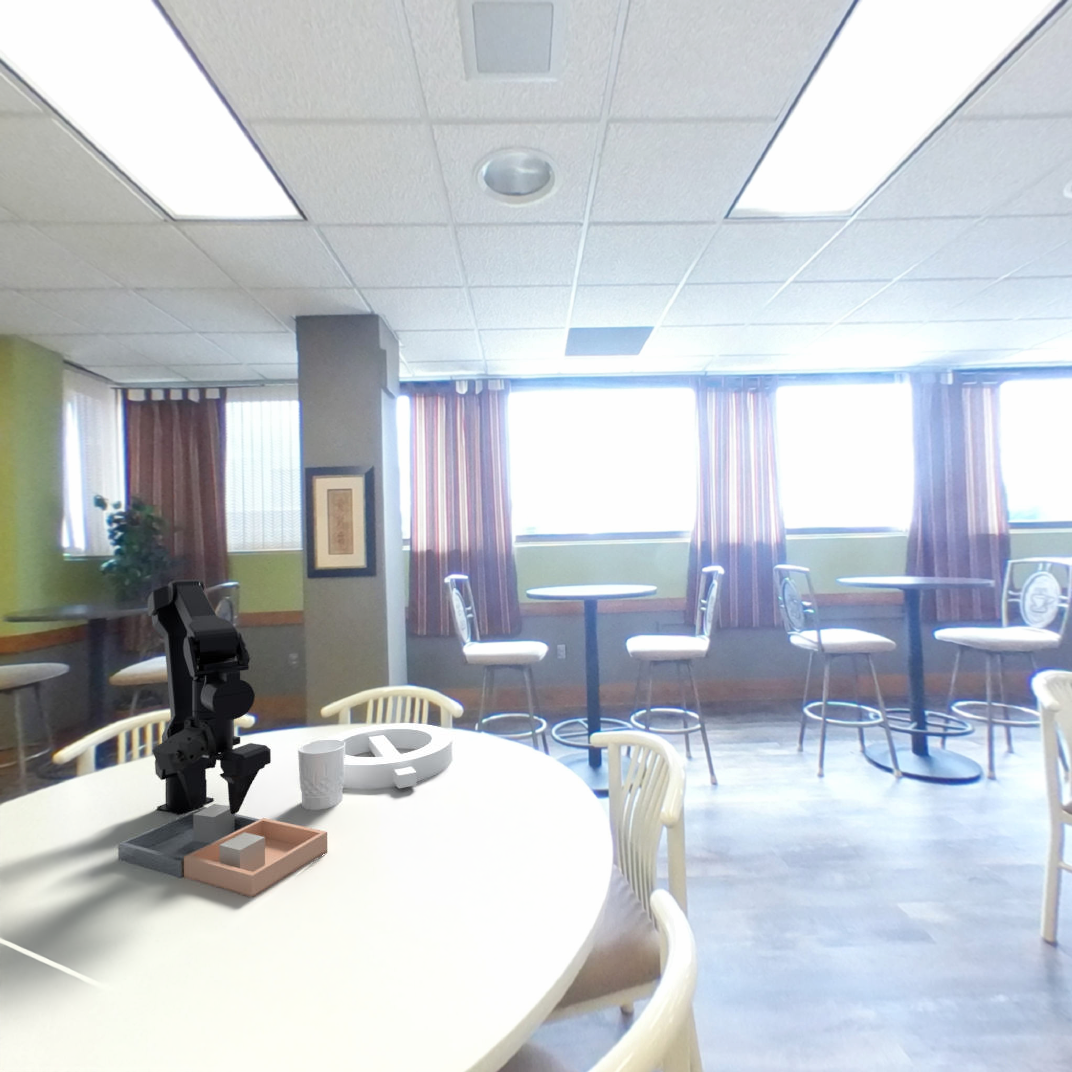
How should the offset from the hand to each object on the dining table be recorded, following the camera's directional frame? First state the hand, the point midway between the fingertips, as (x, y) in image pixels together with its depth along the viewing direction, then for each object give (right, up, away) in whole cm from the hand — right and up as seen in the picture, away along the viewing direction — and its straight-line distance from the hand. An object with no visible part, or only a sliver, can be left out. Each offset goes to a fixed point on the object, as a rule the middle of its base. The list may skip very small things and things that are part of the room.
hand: (213, 808), depth 93 cm
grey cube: (0, -4, 0) cm, 4 cm away
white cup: (+13, -5, +12) cm, 18 cm away
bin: (-1, -4, -3) cm, 6 cm away
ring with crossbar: (+19, -6, +33) cm, 38 cm away
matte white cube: (+10, -3, -11) cm, 15 cm away
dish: (+11, -4, -9) cm, 15 cm away
